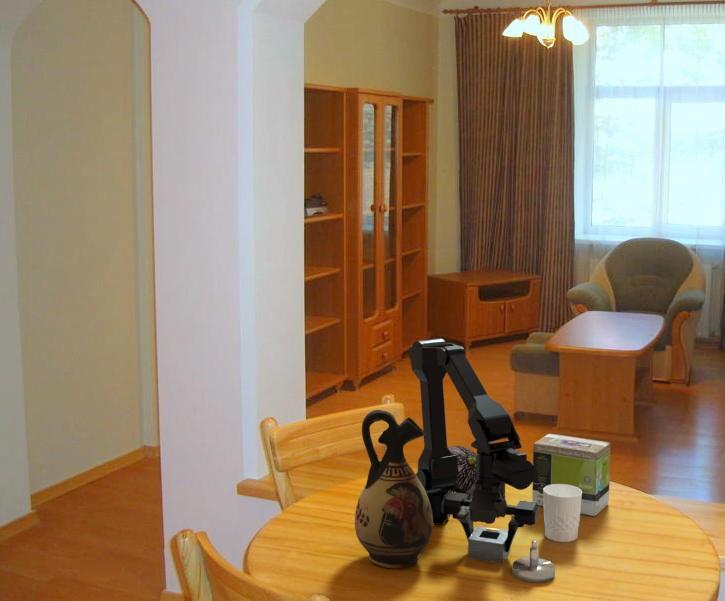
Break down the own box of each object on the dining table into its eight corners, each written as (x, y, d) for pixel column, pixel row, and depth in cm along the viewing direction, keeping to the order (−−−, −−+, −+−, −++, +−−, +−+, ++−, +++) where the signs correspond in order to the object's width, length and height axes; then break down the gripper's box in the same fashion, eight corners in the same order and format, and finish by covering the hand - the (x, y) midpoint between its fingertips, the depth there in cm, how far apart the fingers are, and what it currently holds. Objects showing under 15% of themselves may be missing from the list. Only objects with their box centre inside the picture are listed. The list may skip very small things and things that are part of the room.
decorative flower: (460, 469, 217) (435, 432, 229) (440, 512, 220) (416, 473, 233) (514, 477, 223) (486, 441, 235) (493, 519, 226) (467, 481, 239)
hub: (508, 579, 184) (509, 546, 183) (517, 562, 191) (517, 530, 190) (551, 585, 181) (552, 552, 180) (558, 568, 189) (559, 536, 188)
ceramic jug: (430, 543, 201) (432, 401, 196) (434, 576, 185) (436, 423, 181) (348, 542, 201) (347, 401, 196) (344, 575, 186) (344, 422, 181)
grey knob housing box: (467, 558, 193) (468, 538, 193) (476, 544, 200) (476, 525, 199) (502, 563, 191) (503, 543, 190) (510, 549, 197) (510, 529, 197)
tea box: (609, 504, 222) (612, 441, 220) (594, 518, 214) (597, 453, 212) (547, 491, 230) (549, 431, 228) (530, 504, 222) (532, 442, 220)
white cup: (580, 545, 200) (582, 498, 198) (541, 542, 201) (542, 495, 200) (580, 530, 207) (581, 485, 206) (542, 527, 209) (543, 482, 207)
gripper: (433, 481, 188) (433, 558, 191) (530, 493, 182) (528, 572, 185) (449, 464, 199) (448, 536, 201) (541, 474, 192) (538, 549, 195)
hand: (489, 548), depth 195 cm, fingers closed on grey knob housing box, 7 cm apart
